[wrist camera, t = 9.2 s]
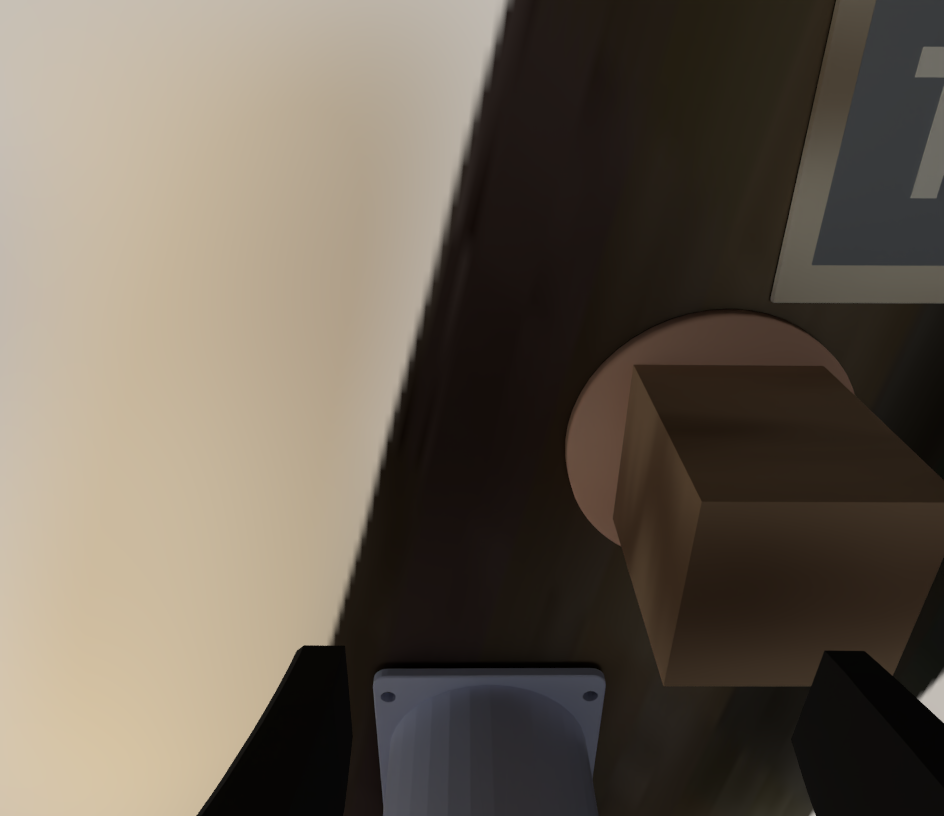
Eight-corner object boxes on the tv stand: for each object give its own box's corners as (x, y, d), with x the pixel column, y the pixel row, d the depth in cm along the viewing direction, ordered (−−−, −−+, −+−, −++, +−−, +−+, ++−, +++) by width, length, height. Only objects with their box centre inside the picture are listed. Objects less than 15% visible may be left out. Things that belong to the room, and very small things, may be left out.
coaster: (810, 549, 22) (818, 562, 22) (556, 550, 22) (558, 563, 22) (882, 309, 18) (894, 317, 18) (575, 308, 18) (579, 317, 18)
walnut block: (781, 518, 21) (888, 686, 16) (612, 518, 21) (663, 686, 16) (823, 365, 19) (966, 502, 13) (633, 364, 18) (701, 501, 13)
